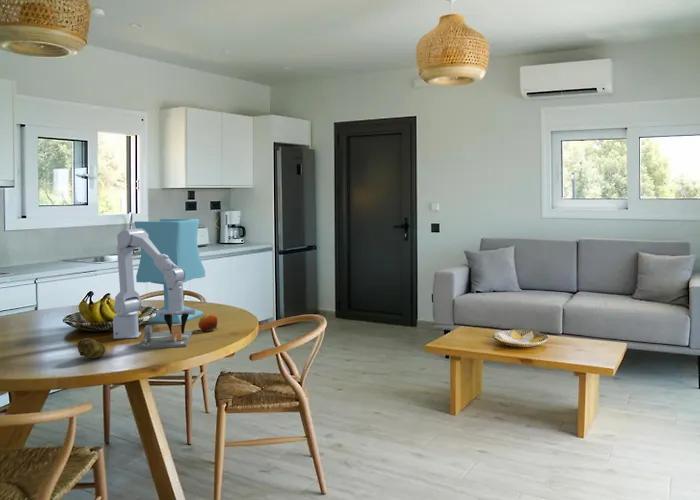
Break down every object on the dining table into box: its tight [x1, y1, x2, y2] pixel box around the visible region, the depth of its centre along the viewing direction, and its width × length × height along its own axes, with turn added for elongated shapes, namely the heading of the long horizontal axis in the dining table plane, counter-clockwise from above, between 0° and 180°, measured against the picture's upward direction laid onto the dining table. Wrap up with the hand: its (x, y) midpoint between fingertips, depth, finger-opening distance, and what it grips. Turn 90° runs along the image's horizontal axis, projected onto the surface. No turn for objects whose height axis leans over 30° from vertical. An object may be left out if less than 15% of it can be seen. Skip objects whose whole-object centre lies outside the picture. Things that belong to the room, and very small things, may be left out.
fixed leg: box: [143, 324, 153, 344], centre depth 252 cm, size 2×9×6 cm, turn 7°
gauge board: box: [137, 330, 193, 350], centre depth 258 cm, size 18×22×2 cm
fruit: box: [198, 313, 219, 332], centre depth 275 cm, size 8×8×8 cm
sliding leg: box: [171, 323, 183, 343], centre depth 253 cm, size 4×9×6 cm, turn 7°
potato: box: [76, 337, 106, 359], centre depth 233 cm, size 8×13×8 cm, turn 157°
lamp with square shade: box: [133, 218, 206, 324], centre depth 299 cm, size 22×22×45 cm
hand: (177, 333), depth 255 cm, fingers closed on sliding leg, 4 cm apart
